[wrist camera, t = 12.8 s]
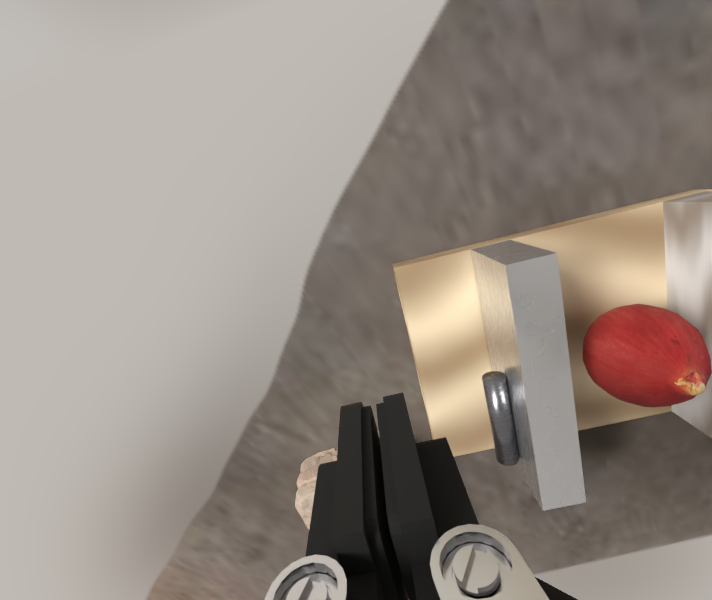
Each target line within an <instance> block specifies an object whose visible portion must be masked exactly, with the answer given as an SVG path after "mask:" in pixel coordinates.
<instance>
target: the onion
mask: <svg viewBox="0 0 712 600" xmlns="http://www.w3.org/2000/svg"><path fill="white" fill-rule="evenodd" d="M583 362H584V364H585V367H586V370H587V372H588V374H589V376H590V377H591V379H592V380H593V382H594V383H595V384H597V385H598V386H599V387H601V388H602V389H603V390H604V391H606V392H607V393H608V394H610V395H612V396H613V397H615V398H616V399H619V400H622V401H624V402H628V403H631V404H635V405H639V406H643V407H666V406H672V405H675V404H680V403H683V402H685V401H688V400H691V399H693V398H695V397H696V396H697V395H699V394H701V393H703V392H704V391H705V390H706V389H707V388H706V385H707V382H708V380H709V378H710V376H711V373H712V370H711V359H710V354H709V352H708V349H707V347H706V344H705V341H704V339H703V336H702V335H701V333H700V332H699V330H698V329H697V328H696V327H694V326H693V325H692V324H690V323H689V322H688V321H687V320H685V319H684V318H683V317H681V316H680V315H679V314H677V313H675V312H673V311H670V310H668V309H664V308H660V307H655V306H651V305H645V304H633V305H626V306H620V307H617V308H614V309H612V310H610V311H608V312H606V313H604V314H602V315H600V316H599V317H598V318H597V319H596V320H595V321H594V322H593V323H592V324H591V325H590V326H589V328H588V331H587V333H586V335H585V337H584V340H583Z"/></svg>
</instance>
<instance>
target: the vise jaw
mask: <svg viewBox="0 0 712 600" xmlns="http://www.w3.org/2000/svg"><path fill="white" fill-rule="evenodd" d="M471 253H472V259H473V264H474V270H475V276H476V282H477V287H478V293H479V299H480V304H481V310H482V316H483V322H484V327H485V333H486V339H487V345H488V350H489V356H490V362H491V368H492V371H491V372H487V373H485V374H484V375H483V376H482V381H483V387H484V392H485V398H486V403H487V409H488V414H489V420H490V425H491V430H492V436H493V441H494V447H495V452H496V458H497V461H498V462H499V463H501V464H503V465H508V466H509V465H514V464H516V466H517V468H518V469H519V471H520V473H521V474H522V476H523V478H524V479H525V481H526V483H527V485H528V486H529V488H530V490H531V491H532V493H533V495H534V496H535V498H536V500H537V502H538V503H539V505H540V507H541V508H542V510H543V511H544V510H549V509H554V508H559V507H564V506H569V505H575V504H580V503H585V502H586V498H585V489H584V480H583V472H582V463H581V455H580V446H579V437H578V429H577V420H576V411H575V403H574V394H573V385H572V377H571V368H570V360H569V351H568V342H567V334H566V325H565V316H564V308H563V299H562V290H561V282H560V273H559V265H558V256H557V253H556V252H552V251H549V250H545V249H542V248H538V247H534V246H531V245H527V244H523V243H520V242H516V241H513V240H507V241H503V242H499V243H495V244H491V245H487V246H483V247H479V248H475V249H471Z"/></svg>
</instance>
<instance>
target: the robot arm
mask: <svg viewBox="0 0 712 600" xmlns="http://www.w3.org/2000/svg"><path fill="white" fill-rule="evenodd" d="M383 401H384V403H380V404H376V406H377V417H378V427H379V434H378V431H377V427H376V423H375V420H374V416H373V412H372V409H371V406H367V407H363V404H362V402H359V403H355V404H350V405H346V406H342V407H341V410H340V424H339V437H338V451H337V461H332V462H328V463H323V464H320V465H319V467H318V472H317V479H316V486H315V493H314V501H313V508H312V515H311V522H310V529H309V536H308V543H307V550H306V557H303V558H301V559H299V560H297V561H295V562H293V563H291V564H290V565H289V566H288V567H287V568H285V569H284V570H283V571H282V572H281V573H280V574H279V575H278V576H277V578H276V579H275V580H274V581H273V583H272V584H271V586H270V589H269V591H268V593H267V595H266V597H265V599H264V600H577V599H575V598H573V597H572V596H570V595H568V594H566V593H564V592H562V591H560V590H558V589H557V588H555V587H553V586H551V585H549V584H547V583H545V582H543V581H542V580H540V579H538V578H536V577H534V575H533V574H532V572H531V570H530V569H529V567H528V566H527V564H526V563H525V561H524V560H523V558H522V556H521V555H520V553H519V552H518V550H517V549H516V547H515V546H514V545H513V544H512V543H511V542H510V540H509V539H508V538H507V537H506V536H504V535H503V534H501V533H500V532H498V531H497V530H495V529H492V528H489V527H487V526H484V525H479V524H478V521H477V518H476V516H475V513H474V510H473V508H472V505H471V502H470V500H469V497H468V494H467V492H466V489H465V486H464V484H463V481H462V478H461V476H460V473H459V470H458V468H457V465H456V462H455V460H454V457H453V454H452V452H451V449H450V446H449V444H448V441H447V439H446V437H443V438H439V439H434V440H430V441H425V442H420V443H415V439H414V435H413V431H412V427H411V423H410V419H409V415H408V411H407V407H406V402H405V398H404V394H403V393H399V394H394V395H390V396H386V397H383ZM379 437H380V438H379Z"/></svg>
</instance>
